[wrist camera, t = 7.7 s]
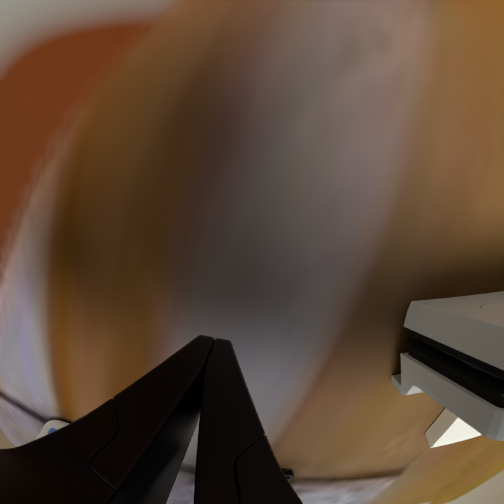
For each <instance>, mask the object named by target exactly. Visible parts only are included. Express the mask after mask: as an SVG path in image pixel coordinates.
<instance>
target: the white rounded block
mask: <svg viewBox="0 0 504 504" xmlns="http://www.w3.org/2000/svg"><path fill="white" fill-rule="evenodd" d="M404 327H406V328H408V329H411V337H413V338H415V339H417V340H420V341H422V342H424V343H426V344H419V345H412V346H409V352H407V353H400V355H401V374H397V375H392V376H391V383H392V384H393V385H394V386H395V387H396V389H397V390H398V391H399V392H400V393H401V394H402V395H403V396H405V395H410V394H415V393H420V392H424V393H426V394H427V395H428V396H430V397H431V398H433V399H434V400H435V401H437V402H438V403H439V404H441V405H442V406H443V407H445V408H446V409H447V410H449V411H450V412H452V413H453V414H454V415H456V416H457V417H458V418H460V419H461V420H463V421H464V422H465V423H467V424H468V425H469V426H471V427H472V428H473V429H475V430H476V431H478V432H479V433H480V434H482V435H483V436H485V437H488V438H490V439H493V440H499V441H504V291H500V292H492V293H485V294H477V295H469V296H460V297H450V298H441V299H430V300H419V301H412V302H411V304H410V306H409V308H408V311H407V314H406V318H405V322H404Z"/></svg>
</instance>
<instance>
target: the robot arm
mask: <svg viewBox="0 0 504 504" xmlns="http://www.w3.org/2000/svg"><path fill="white" fill-rule="evenodd" d="M199 417H200V421H199V433H198V445H197V458H196V473H195V489H194V504H303V503H302V501H301V500H300V498H299V497H298V495H297V494H296V492H295V491H294V489H293V488H292V486H291V485H290V482H291V481H292V479H293V478H294V473H293V472H292V471H282V469H281V468H280V466H279V464H278V462H277V459H276V457H275V455H274V453H273V451H272V449H271V446H270V444H269V441H268V439H267V437H266V435H265V432H264V429H263V427H262V424H261V422H260V419H259V417H258V414H257V412H256V409H255V406H254V404H253V401H252V399H251V396H250V393H249V391H248V388H247V385H246V382H245V380H244V377H243V374H242V372H241V369H240V366H239V363H238V360H237V358H236V355H235V352H234V349H233V346H232V343H231V341H229V340H225V339H219V338H217V339H214V338H213V337H209V336H204V335H199V336H198V337H196V338H195V339H194V340H192V341H191V342H190V343H188V344H187V345H185V346H184V347H183V348H181V349H180V350H179V351H177V352H176V353H175V354H173V355H172V356H170V357H169V358H168V359H166V360H165V361H164V362H162V363H161V364H159V365H158V366H157V367H155V368H154V369H153V370H151V371H150V372H148V373H147V374H146V375H144V376H143V377H141V378H140V379H139V380H137V381H136V382H134V383H133V384H131V385H130V386H129V387H127V388H126V389H124V390H123V391H121V392H120V393H119V394H117V395H116V396H114V397H113V399H110V400H108V401H107V402H105V403H104V404H102V405H101V406H99V407H98V408H96V409H95V410H93V411H91V412H90V413H88V414H87V415H85V416H83V417H81V418H80V419H78V420H76V421H74V422H72V423H70V424H68V425H66V426H64V427H62V428H60V429H58V430H56V431H54V432H51V433H49V434H47V435H45V436H43V437H41V438H38V439H36V440H34V441H32V442H29V443H27V444H24V445H22V446H18V447H15V448H9V449H0V504H166V502H167V500H168V497H169V494H170V492H171V489H172V487H173V484H174V482H175V479H176V477H177V474H178V472H179V469H180V466H181V464H182V461H183V459H184V456H185V454H186V451H187V448H188V446H189V443H190V441H191V438H192V435H193V433H194V430H195V428H196V425H197V422H198V420H199Z"/></svg>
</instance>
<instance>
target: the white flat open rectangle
mask: <svg viewBox="0 0 504 504" xmlns="http://www.w3.org/2000/svg"><path fill="white" fill-rule="evenodd" d="M425 434H426V437H427V440H428V442H429V445H430V448H433V447H438V446H442V445H447V444H451V443H455V442H459V441H463V440H466V439H470V438H473V437H477V436H480V435H482V434H480V433H479V432H478V431H476V430H475V429H473V428H472V427H471V426H469V425H468V424H467V423H465V422H464V421H463V420H461V419H460V418H458V417H457V416H456V415H454V414H453V413H452V412H450V411H449V410H447V409H446V408H445V409H444V411H443V412H442V413H441V415H440V416H439V417H438V418H437V419H436V421H435V422H434V423H433V424H432V425H431V427H430V428H429V429H428V430H427V431H426V432H425Z"/></svg>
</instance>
